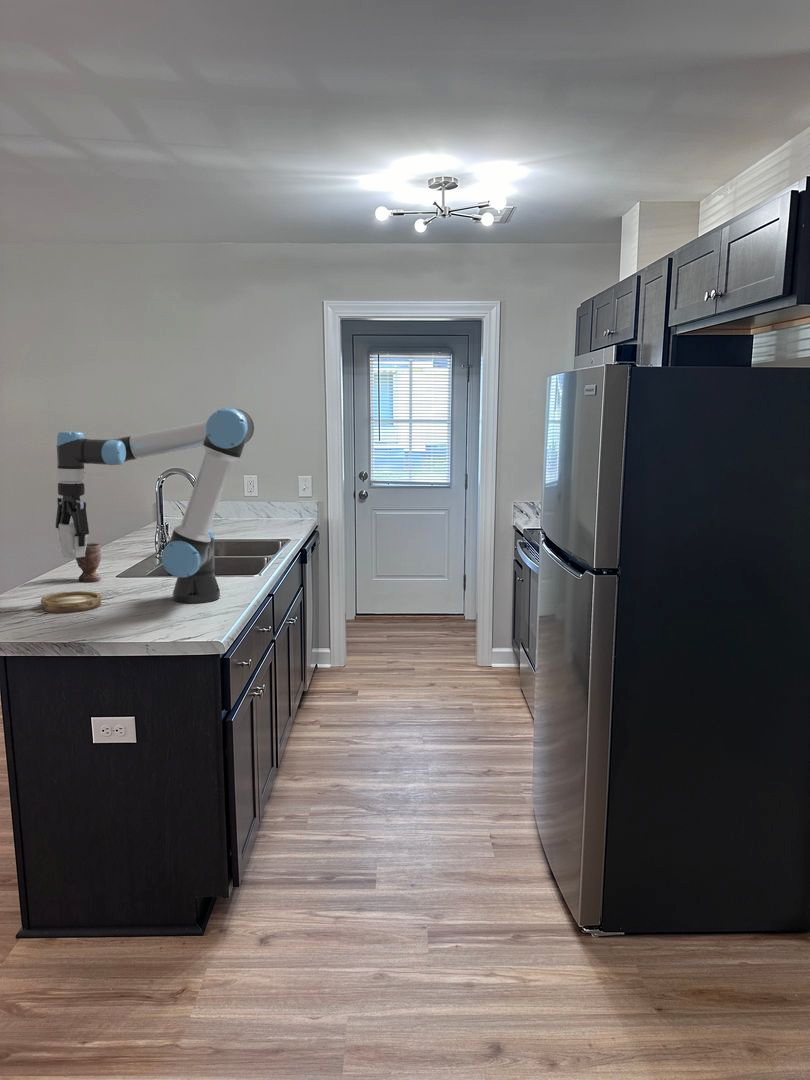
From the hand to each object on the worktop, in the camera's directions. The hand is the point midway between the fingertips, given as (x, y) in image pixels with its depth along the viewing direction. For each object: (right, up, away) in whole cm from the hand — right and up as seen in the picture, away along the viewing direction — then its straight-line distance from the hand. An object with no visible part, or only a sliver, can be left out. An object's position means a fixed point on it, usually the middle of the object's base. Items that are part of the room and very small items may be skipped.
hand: (72, 554), depth 237 cm
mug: (0, -1, 0) cm, 1 cm away
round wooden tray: (-1, -16, +2) cm, 16 cm away
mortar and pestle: (-11, -11, +37) cm, 40 cm away
